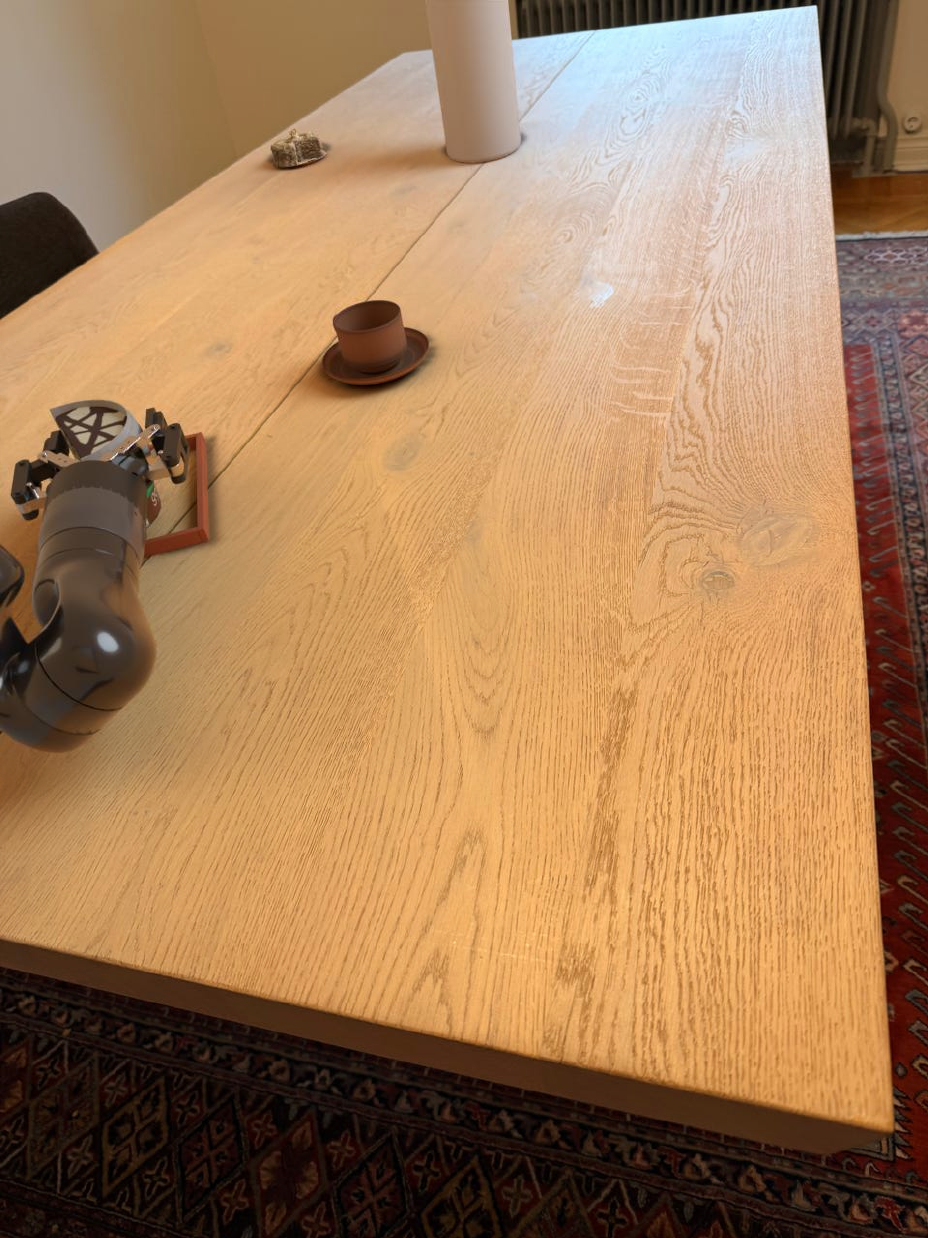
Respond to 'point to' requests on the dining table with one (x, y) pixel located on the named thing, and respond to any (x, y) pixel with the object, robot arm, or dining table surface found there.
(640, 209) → the dining table surface
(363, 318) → the cup and saucer
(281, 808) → the dining table surface
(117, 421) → the food container
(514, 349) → the dining table surface
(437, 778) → the dining table surface
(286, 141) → the cake
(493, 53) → the cylinder vase
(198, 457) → the square frame
